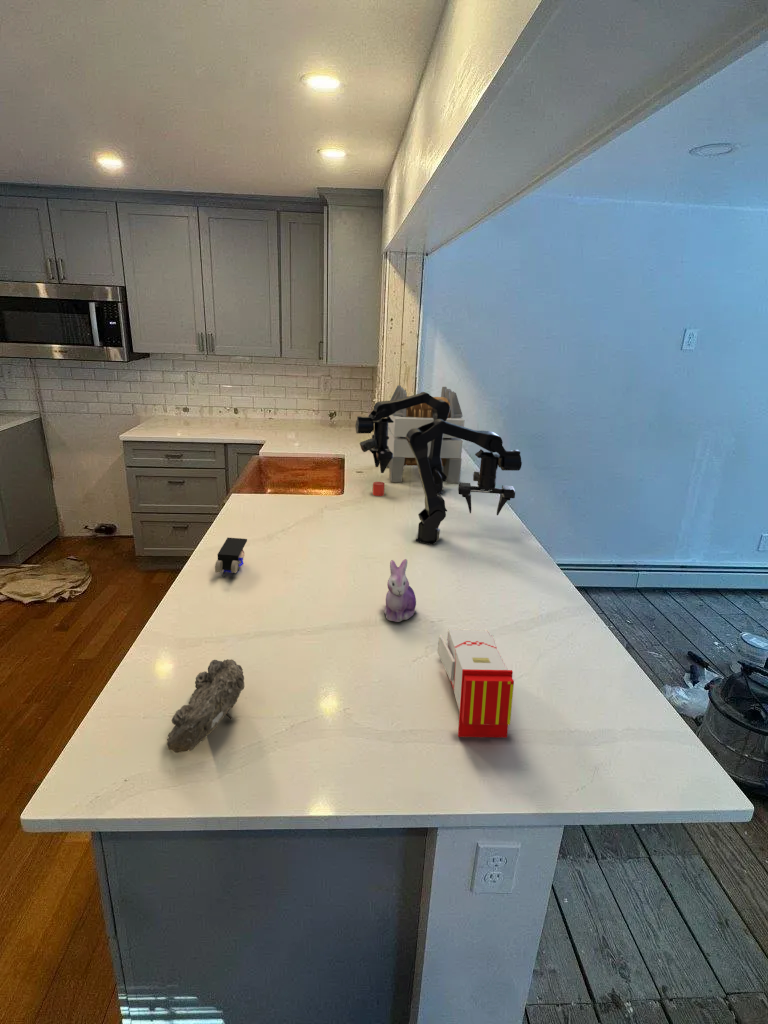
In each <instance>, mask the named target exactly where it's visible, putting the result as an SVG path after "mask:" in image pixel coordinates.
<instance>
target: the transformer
mask: <svg viewBox="0 0 768 1024" xmlns="http://www.w3.org/2000/svg"><path fill="white" fill-rule="evenodd" d="M440 393H441V394H440V396H433V397H434V398H435V399H437V400H442V401H445V402H447V403H448V404H449V405H450V412H449V415H448V418H447V420H446V422H449V423H452V424H456V425H459V426H462V427H465V419H464V418H463V411H462V408H461V405H460V402H459V398H458V395H457V392H455V391H453V390H452V389H451V388H447V386H442V387H441V392H440ZM407 394H408V393H407V390H406V389H404V388H403V387H402V385H399V384H398V385H397V386H396V388H395V390H394V392H393V394H392V395H391V398H390V400H389V401H395V400H398V399H402V398H405V397H409V396H410V395H407ZM389 417H390V418H391V419H392V421H394V422H393V423H388V436H389V439H388V443H387V446H388V447H389V449H385V450H390V451H391V452H392V453H393V458H392V459H391V460H390V462H389V464H388V465H387V467H388V468H389V475H388V476H389V477H388V478H389V480H390V482H391V483H402V482H403V475H404V469H405V466H406V467H407V466H411V467H412V466H413V467H415V466H416V467H418V466H417V462H416V458H415V456H414V454H413V452H412V450H411V448H410V446H409V444H408V441H407V439H406V434H407V433H408V431H409V430H410V429H412V428H419V427H421V426H423V425H426V424H428V423H431V422H433V421H434V420H433V415H432V407H431V406H429V405H427V404H426V403H422V404H419V405H415V406H412V407H409V408H405V409H402V410H399V411H397V412H395V413H394V414H392V415H390V416H389ZM386 418H387V417H386ZM463 442H464V440H463V439H460V438H456V437H453V436H450V435H446V434H443V438H442V446H441V454H440V458H441V462H442V472H443V473H444V474H445V475H446V476H447V478H446V480H445V482H447V483H449V484H455V483H456V484H459V483H460V482H461V472H462V461H463V460H462V453H463ZM430 448H431V441H430V442H429V443H428V456H429V454H430ZM387 467H386V468H387Z"/></svg>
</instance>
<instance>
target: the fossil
mask: <svg viewBox="0 0 768 1024" xmlns="http://www.w3.org/2000/svg"><path fill="white" fill-rule="evenodd" d="M243 670H244V669H243V667H242V665H240V664H237V662H236V661H235V660H234V659H232V658H231V659H227V658H226V659H224V660H223V661H222V660H217V659H212V660H211V661H210V663H209V665H208V666H207V671H201V672H199V673H198V674H197V675H196V676H195V680H194V684H195V685H194V687H195V689H194V690H193V693H192V694H191V697H190V698H189V700H188V704H184V705H182V706H181V707H180V709H177V710H176V711H175V713H174V715H173V716H172V718H171V723H172V724H173V727H172V730H171V731H170V732H168V734H167V738H166V741H167V742H166V745H167V749H168V750H169V751H173V752H174V753H176V754H178V753H182V752H188V751H189V752H192V751H193V750H195V748H196V747H197V746H199V744H200V743H201V742H203V741H204V740H205V739H206V738H207V737H208V736H209V735H210V734H211V733H212V732H214V730H215V729H217V727H218V726H219V724H220V722H221V721H222V720H223V719H224V718H225V716H226V717H227V719H229V720H233V717H232V715H230V714H229V710H230V709H231V708H234V706H235V704H236V703H237V702H238V699H239V697H240V695H241V693H242V691H243V690H245V689H244V688H245V675H244V671H243Z"/></svg>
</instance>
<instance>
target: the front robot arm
mask: <svg viewBox="0 0 768 1024" xmlns="http://www.w3.org/2000/svg"><path fill="white" fill-rule="evenodd" d="M442 433H443V434H446V435H450V436H453V437H456V438H460V439H461V440H462V441H467V442H470V443H472V444H475V445H477V446H478V447H481V448H482V449H480V450H479V451H477V452H475V454H474V456H476V457H477V458H478V459H480V466H479V471H473V478H472V481H473V482H477V486H476V485H471V482H462V481H460V482H459V483H458V487H457V493H458V495H461V497H462V498H465V501H466V503H467V507H468V512H469V514H472V493H481V494H482V493H483V494H484V493H485V494H495V495H496V494H497V495H499V500H498V504H497V508H496V516H499V514H500V513H501V511H502V509H503V508H504V506H505V504H506V503H507V502H508V501H511V499H515V498H516V489H515V487H514V486H513V485H506V484H503V485H501V487H496V484H497V477H498V468H500V470H501V471H510V472H511V471H513V472H514V471H520V470H521V468H522V465H523V462H522V457H521V451H520V450H519V449H514V450H506V449H505V447H504V446H503V439H502V437H501V436H500V435H498V434H497V433H496V432H493V431H489V430H476V429H472V428H469V427H466V426H464V427H462V426H459V425H456V424H452V423H449V422H446V421H443V420H442V419H437V420H435V421H433V422H431V423H428V424H426V425H423V426H421V427H419V428H412V429H410V430H409V431H408V433H407V434H406V439H407V441H408V444H409V446H410V448H411V450H412V452H413V454H414V456H415V458H416V462H417V466H416V467H417V470H418V474H419V478H420V481H421V485H422V488H423V492H424V508H423V509H422V510H421V511H420V512H418V519H419V520H420V521H419V522H418V527H417V538H416V539H415V542H417V543H421V544H425V545H430V546H435V544H436V543H437V542H438V541H439V540H440V532H441V528H439V527H440V525H441V523H442V522H443V521H444V520H445V518H446V516H447V512H448V509H447V508H446V501H445V499H444V497H443V496H442V495H440V494H437V492H436V488H435V484H434V480H433V476H432V472H431V468H430V464H429V460H428V443H429V442H430V441H432V440H434V439H435V438H436V437H437V436H439V435H440V434H442ZM483 449H484V450H486V451H484V450H483Z"/></svg>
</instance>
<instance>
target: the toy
mask: <svg viewBox="0 0 768 1024" xmlns="http://www.w3.org/2000/svg"><path fill="white" fill-rule="evenodd" d="M446 640H447V643H446V641H445V639H444V636H443V635H442V634H439V637H438V646H437V656H438V657H439V659H440V661H441V663H442V666H443V668H444V670H445V672H446V674H447V677H448V679H449V681H450V684H451V687H452V690H453V693H454V697H455V701H456V705H457V708H458V711H459V714H458V715H459V716H458V730H457V731H458V732H457V737H458V738H508V731H509V726H510V725H511V717H512V707H513V697H514V696H513V695H514V684H515V680H514V679H513V673H514V671H513V670H512V669H508V667H507V665H506V662H505V661H504V659H503V658H502V655H501V653H500V651H499V649H498V647H497V643H496V639H495V637H494V635H493V634H491V632H490V631H489V629H467V628H466V629H465V628H463V629H461V628H460V629H459V628H448V630H447V639H446Z"/></svg>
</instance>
